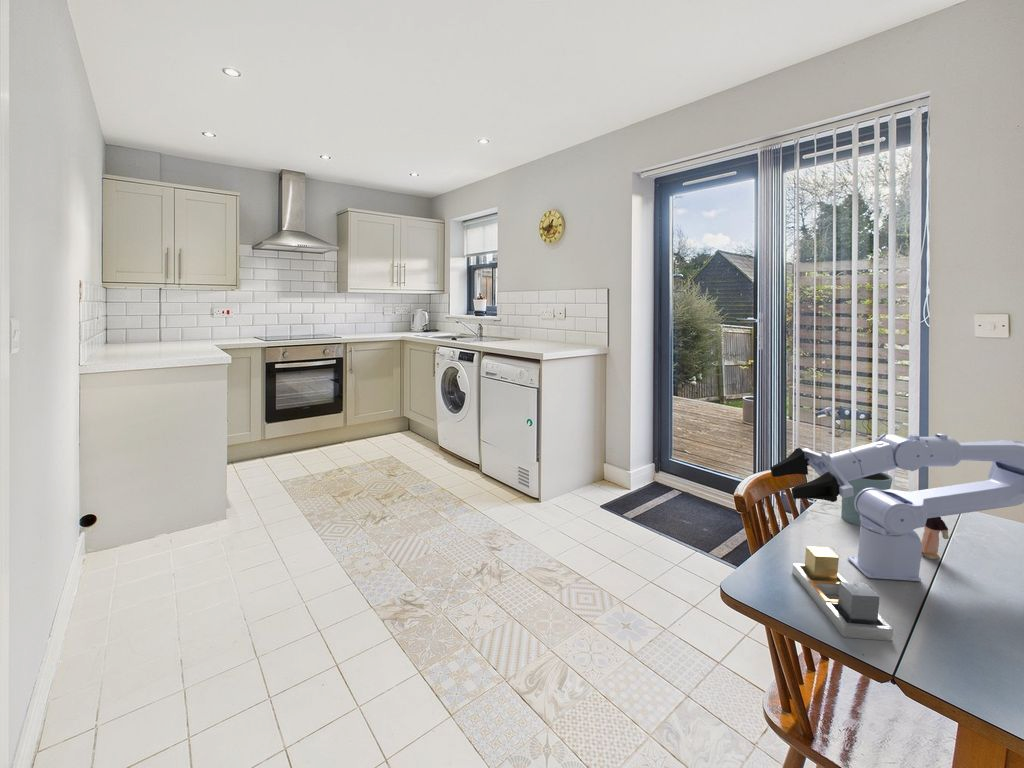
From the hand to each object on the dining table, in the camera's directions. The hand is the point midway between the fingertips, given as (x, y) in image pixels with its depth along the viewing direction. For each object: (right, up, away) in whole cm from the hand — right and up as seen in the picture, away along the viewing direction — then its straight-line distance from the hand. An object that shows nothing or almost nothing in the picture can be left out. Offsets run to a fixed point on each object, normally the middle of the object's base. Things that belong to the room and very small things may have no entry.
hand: (781, 482), depth 98 cm
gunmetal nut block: (+4, -20, -16) cm, 26 cm away
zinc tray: (+4, -20, -10) cm, 22 cm away
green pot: (+34, -15, +26) cm, 45 cm away
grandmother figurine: (+35, -17, +7) cm, 40 cm away
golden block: (+5, -19, -3) cm, 20 cm away
